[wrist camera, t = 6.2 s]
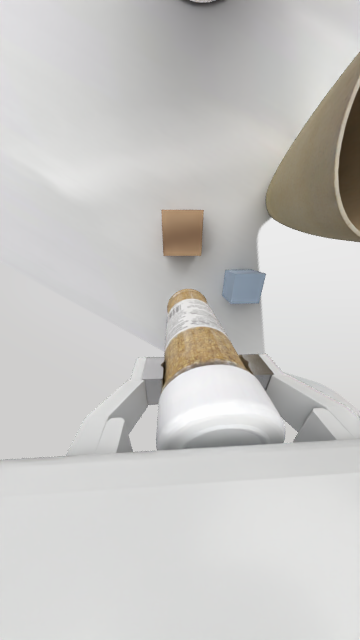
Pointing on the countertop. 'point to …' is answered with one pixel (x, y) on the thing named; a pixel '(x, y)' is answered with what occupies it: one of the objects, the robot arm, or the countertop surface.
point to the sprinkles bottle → (209, 385)
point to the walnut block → (182, 232)
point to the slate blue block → (243, 286)
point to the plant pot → (324, 167)
